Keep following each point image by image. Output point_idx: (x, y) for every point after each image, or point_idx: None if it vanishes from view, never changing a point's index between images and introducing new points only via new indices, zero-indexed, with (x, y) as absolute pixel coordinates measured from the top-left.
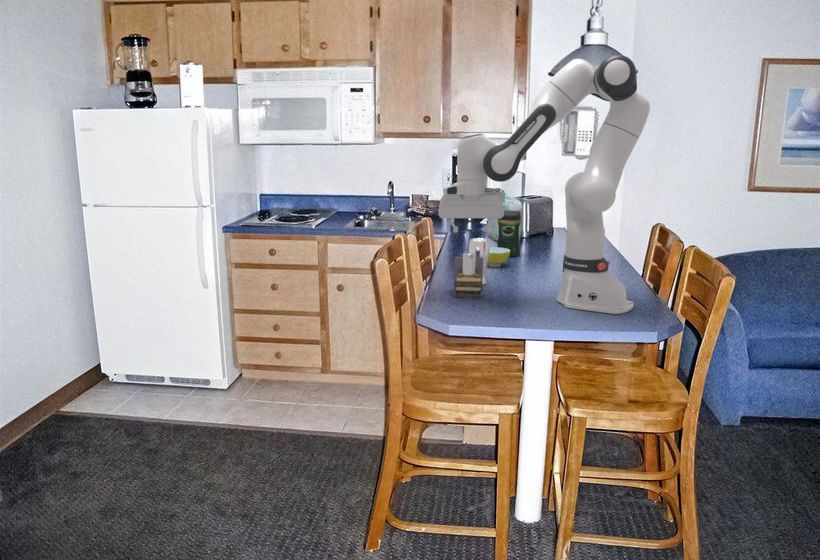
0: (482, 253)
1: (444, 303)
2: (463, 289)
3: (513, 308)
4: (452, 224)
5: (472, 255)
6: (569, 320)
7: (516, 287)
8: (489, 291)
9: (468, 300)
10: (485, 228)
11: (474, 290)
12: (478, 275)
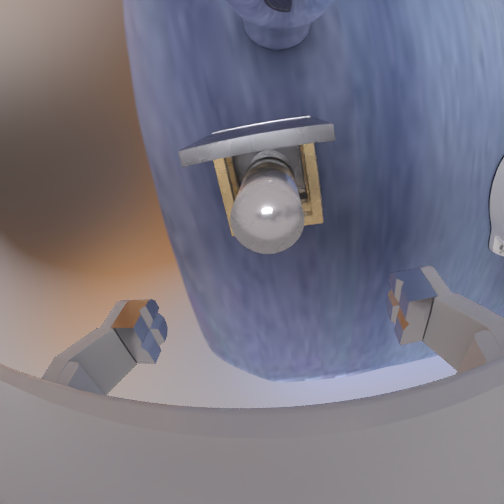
0: (310, 15)
1: (227, 281)
2: None
3: None
4: (110, 380)
5: (289, 245)
6: None
7: (409, 59)
8: (335, 121)
9: None
10: (411, 335)
11: None
12: (308, 175)
